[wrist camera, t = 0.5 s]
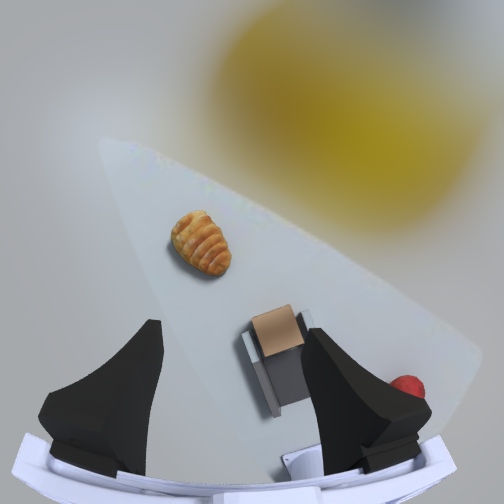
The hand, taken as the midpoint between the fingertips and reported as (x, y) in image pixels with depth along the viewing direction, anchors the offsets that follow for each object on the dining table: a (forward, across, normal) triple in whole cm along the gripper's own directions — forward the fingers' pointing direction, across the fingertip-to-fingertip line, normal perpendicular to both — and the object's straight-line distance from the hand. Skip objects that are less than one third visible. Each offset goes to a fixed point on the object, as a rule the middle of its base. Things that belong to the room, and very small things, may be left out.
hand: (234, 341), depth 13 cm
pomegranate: (+10, -25, +19) cm, 33 cm away
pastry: (+27, +3, +6) cm, 28 cm away
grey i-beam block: (+15, -10, +18) cm, 25 cm away
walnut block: (+18, -8, +14) cm, 24 cm away
